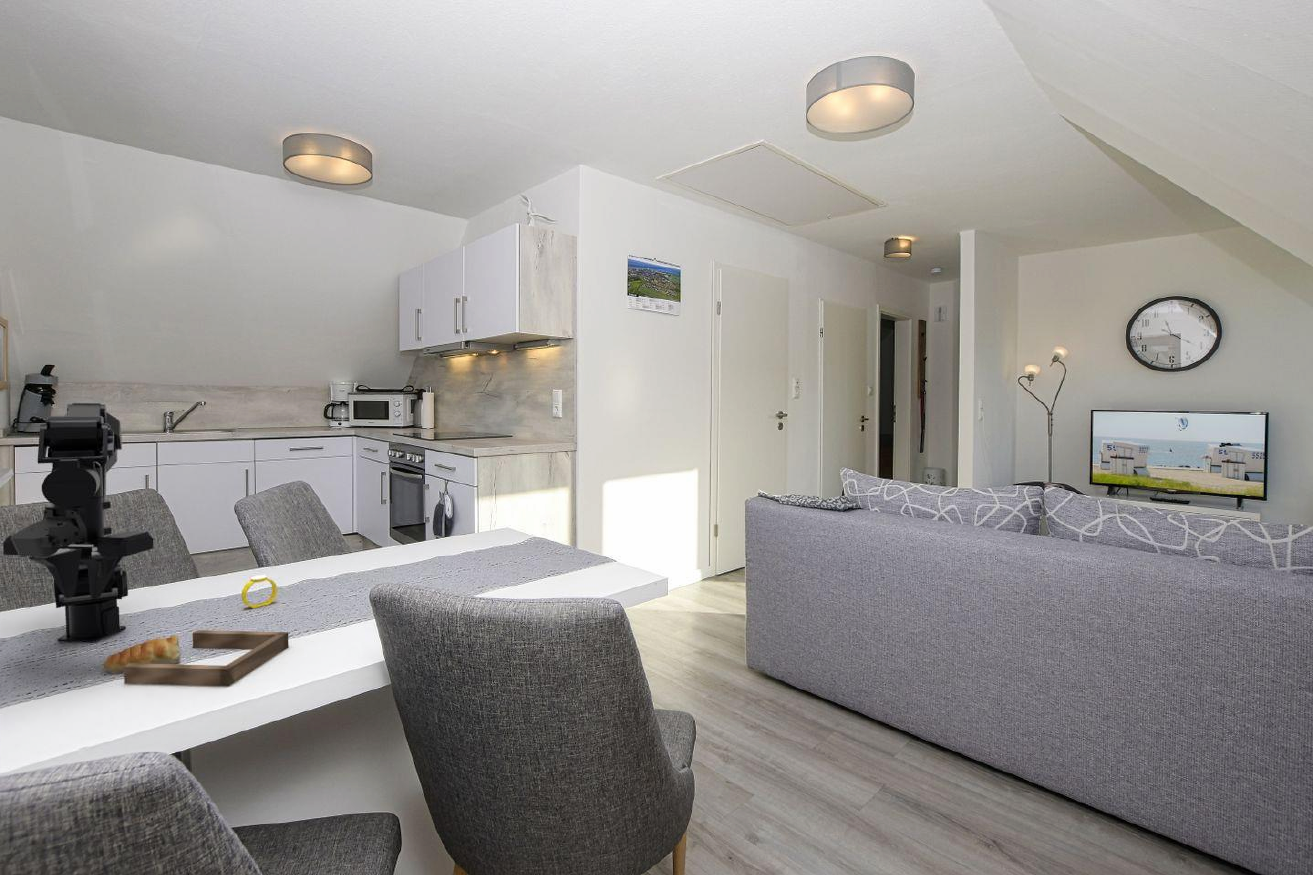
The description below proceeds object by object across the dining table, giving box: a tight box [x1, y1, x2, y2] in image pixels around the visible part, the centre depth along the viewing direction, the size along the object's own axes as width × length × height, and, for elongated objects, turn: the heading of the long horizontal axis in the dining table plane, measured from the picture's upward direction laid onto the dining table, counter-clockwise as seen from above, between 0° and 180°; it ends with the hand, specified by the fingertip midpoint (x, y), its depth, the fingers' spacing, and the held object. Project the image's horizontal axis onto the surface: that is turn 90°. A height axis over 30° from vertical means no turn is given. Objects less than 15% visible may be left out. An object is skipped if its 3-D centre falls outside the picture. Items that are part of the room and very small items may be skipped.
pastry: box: [102, 635, 182, 674], centre depth 98 cm, size 9×7×4 cm
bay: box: [123, 629, 289, 687], centre depth 98 cm, size 15×14×2 cm
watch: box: [241, 574, 278, 609], centre depth 125 cm, size 6×3×6 cm, turn 145°
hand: (82, 597), depth 98 cm, fingers open, 4 cm apart
